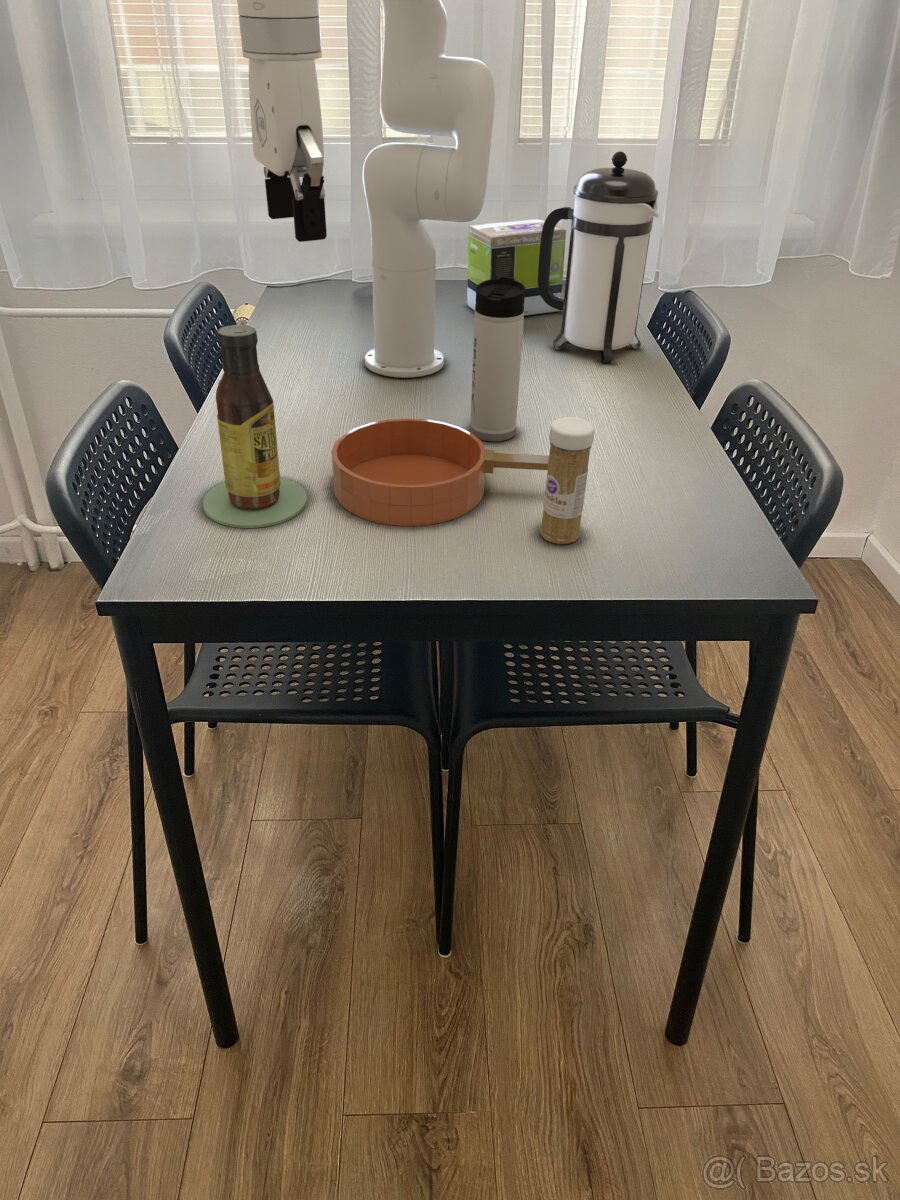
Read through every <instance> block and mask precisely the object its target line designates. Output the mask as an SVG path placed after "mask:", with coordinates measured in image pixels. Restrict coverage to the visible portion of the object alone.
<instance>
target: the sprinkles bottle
mask: <svg viewBox="0 0 900 1200" xmlns="http://www.w3.org/2000/svg"><path fill="white" fill-rule="evenodd" d="M594 436H595V426H594V425H593V423H591V422H590V421H589V420H587V419H584V418H580V417H578V416H577V417H576V416H564V417H563V416H562V417H559V418H556V419H555V420H553V421H552V422H551V424H550V429H549V438H548V439H549V445H550V446H549V454H548V456H549V462H548V470H547V471H546V472H547V473H546V481H545V485H544V494H543V505H542V507H543V509H542V519H541V526H540V528H539V533H540V536H541V537H542V538H543V539H544V540H546V541H548V542H549V543H551V544H557V545H569V544H571V543H574V542H576V541H577V540H578V539H579V538H580V535H581V530H580V528H581V521H582V514H583V511H584V503H585V495H586V490H587V489H586V487H587V481H588V473H589V461H590V456H591V455H590V454H591V448H592V446H593V443H594Z"/></svg>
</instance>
